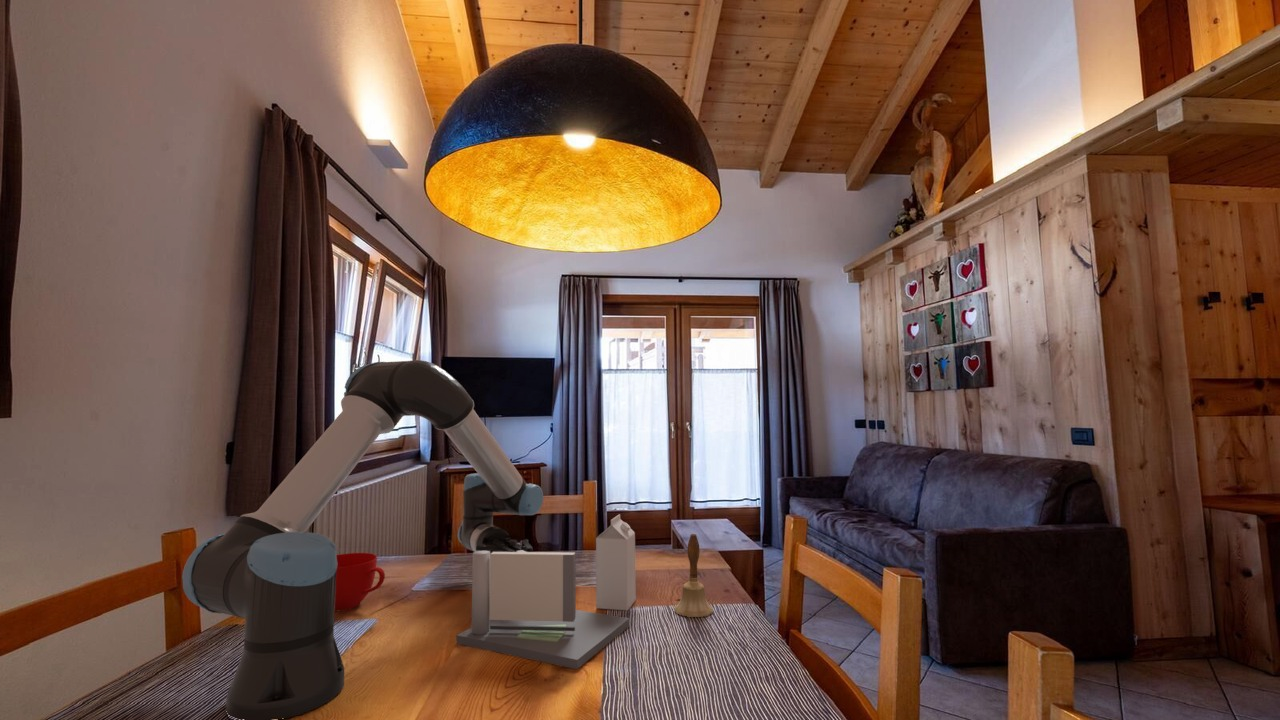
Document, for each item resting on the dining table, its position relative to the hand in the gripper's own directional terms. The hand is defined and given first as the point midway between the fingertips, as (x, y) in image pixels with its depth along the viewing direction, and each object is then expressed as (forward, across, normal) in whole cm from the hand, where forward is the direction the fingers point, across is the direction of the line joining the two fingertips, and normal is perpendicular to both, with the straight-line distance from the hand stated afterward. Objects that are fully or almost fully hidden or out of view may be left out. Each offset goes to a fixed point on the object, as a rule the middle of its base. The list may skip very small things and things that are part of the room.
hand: (531, 563), depth 115 cm
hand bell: (+16, -30, -11) cm, 36 cm away
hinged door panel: (+9, +6, -10) cm, 15 cm away
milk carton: (+3, -19, -11) cm, 22 cm away
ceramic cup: (-31, +29, -12) cm, 44 cm away
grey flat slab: (+9, +1, -11) cm, 14 cm away
